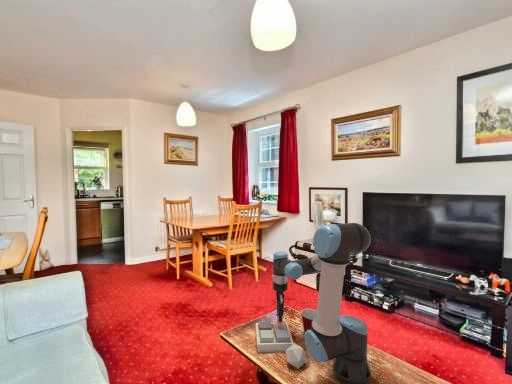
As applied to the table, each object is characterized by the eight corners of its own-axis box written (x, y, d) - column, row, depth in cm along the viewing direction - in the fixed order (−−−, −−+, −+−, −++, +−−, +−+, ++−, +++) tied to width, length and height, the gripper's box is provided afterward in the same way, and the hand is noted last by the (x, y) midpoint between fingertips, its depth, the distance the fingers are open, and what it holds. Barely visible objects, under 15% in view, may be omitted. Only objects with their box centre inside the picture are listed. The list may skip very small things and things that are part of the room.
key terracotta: (286, 335, 144) (286, 330, 144) (274, 335, 144) (274, 330, 144) (284, 328, 151) (284, 323, 151) (273, 328, 151) (273, 323, 151)
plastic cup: (319, 343, 141) (319, 319, 140) (298, 338, 145) (298, 315, 144) (323, 332, 150) (323, 310, 150) (303, 328, 155) (303, 306, 154)
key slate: (289, 342, 135) (289, 337, 135) (276, 342, 135) (276, 337, 135) (287, 334, 142) (287, 329, 142) (275, 334, 142) (275, 329, 142)
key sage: (273, 342, 135) (273, 337, 135) (260, 343, 134) (260, 337, 134) (272, 335, 142) (272, 329, 142) (260, 335, 141) (260, 330, 141)
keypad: (293, 352, 133) (293, 343, 133) (257, 352, 132) (257, 344, 132) (287, 329, 153) (287, 322, 153) (255, 330, 152) (255, 323, 152)
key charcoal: (271, 332, 144) (271, 327, 144) (259, 333, 143) (259, 328, 143) (270, 325, 151) (270, 321, 151) (259, 325, 150) (259, 321, 150)
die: (310, 368, 123) (306, 342, 129) (303, 367, 116) (299, 340, 122) (293, 370, 126) (289, 344, 132) (284, 370, 119) (281, 343, 125)
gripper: (271, 277, 153) (271, 320, 154) (274, 286, 140) (273, 333, 141) (285, 277, 153) (285, 320, 154) (289, 286, 140) (288, 333, 141)
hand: (279, 326), depth 147 cm, fingers closed
